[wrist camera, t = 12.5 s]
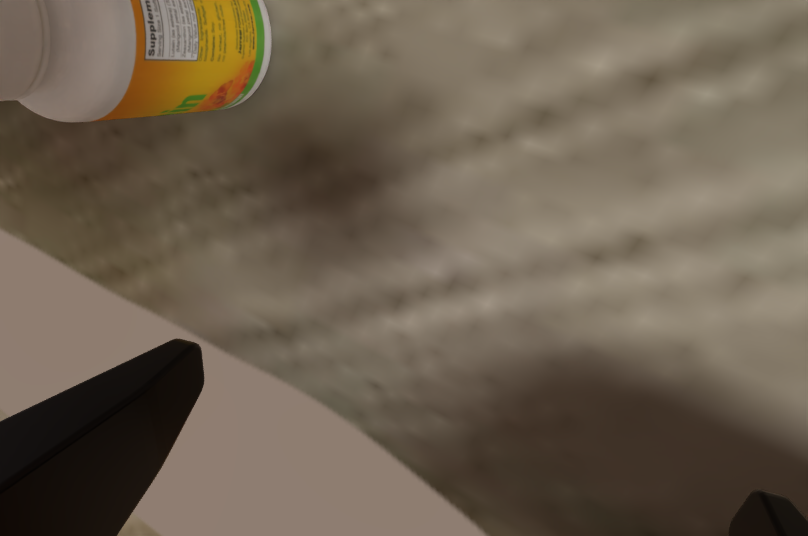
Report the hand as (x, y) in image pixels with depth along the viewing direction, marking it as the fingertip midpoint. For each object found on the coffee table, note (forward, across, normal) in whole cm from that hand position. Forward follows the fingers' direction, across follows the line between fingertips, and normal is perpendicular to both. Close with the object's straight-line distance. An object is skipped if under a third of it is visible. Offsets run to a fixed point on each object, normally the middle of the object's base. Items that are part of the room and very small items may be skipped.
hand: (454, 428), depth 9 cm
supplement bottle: (+15, +12, -2) cm, 19 cm away
